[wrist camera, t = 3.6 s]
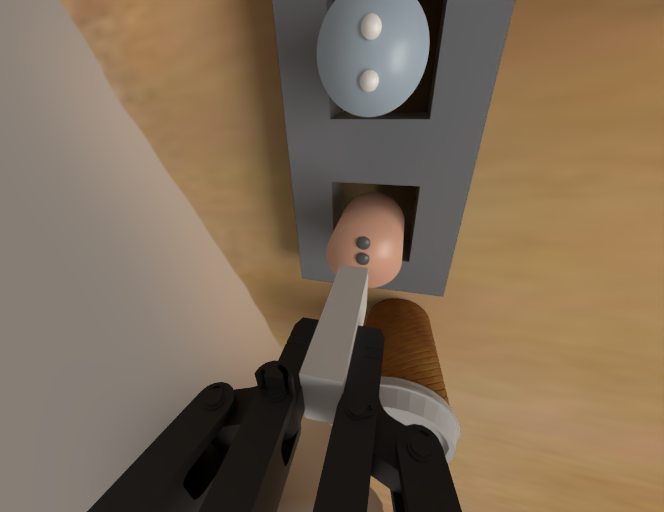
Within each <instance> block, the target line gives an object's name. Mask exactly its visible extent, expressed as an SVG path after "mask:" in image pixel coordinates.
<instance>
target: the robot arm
mask: <svg viewBox="0 0 664 512" xmlns="http://www.w3.org/2000/svg"><path fill="white" fill-rule="evenodd" d="M368 272H369V268H363V267H354V266H345V265H340V266H339V269H338V272H337V274H336V277H335V280H334V282H333V285H332V288H331V290H330V293H329V296H328V298H327V301H326V304H325V306H324V309H323V312H322V314H321V317H320V319H319V320H316V319H310V318H302V319H301V320H300V321H299V322H298V323H296V324H295V326H294V328H293V330H292V332H291V334H290V336H289V339H288V341H287V344H286V345H285V347H284V349H283V351H282V354H281V356H280V358H279V360H278V361H271V362H267V363H265V364H263V365H262V366H261V367H259V368H258V370H257V371H256V372H255V377H256V381H257V384H258V386H255V387H251V388H244V389H236V390H233V388H232V387H231V386H230V385H229V384H227V383H223V382H219V383H214V384H211V385H209V386H207V387H206V388H205V389H203V390H202V391H201V392H200V393H199V394H198V395H197V396H196V397H195V398H194V399H193V400H192V402H191V403H190V404H189V405H188V406H187V407H186V408H185V409H184V410H183V411H182V412H181V413H180V414H179V415H178V416H177V418H175V419H174V420H173V422H172V423H171V424H170V425H169V426H168V427H167V428H166V429H165V430H164V431H163V432H162V433H161V434H160V435H159V436H158V437H157V438H156V440H155V441H154V442H153V443H152V444H151V445H150V446H149V447H148V448H147V449H146V450H145V451H144V452H143V453H142V454H141V455H140V456H139V457H138V459H137V460H136V461H135V462H134V463H133V464H132V465H131V466H130V467H129V468H128V469H127V470H126V471H125V472H124V473H123V474H122V476H121V477H120V478H119V479H118V480H117V481H116V482H115V483H114V484H113V485H112V486H111V487H110V488H109V489H108V490H107V491H106V492H105V493H104V495H103V496H102V497H101V498H100V499H99V500H98V501H97V502H96V503H95V504H94V505H93V506H92V507H91V508H90V509H89V510H88V511H87V512H277V508H278V505H279V502H280V499H281V496H282V493H283V489H284V486H285V482H286V479H287V476H288V473H289V470H290V466H291V463H292V460H293V457H294V453H295V450H296V447H297V443H298V440H299V437H300V433H301V420H302V416H303V414H304V412H305V417H306V418H309V419H313V420H317V421H322V422H326V423H330V424H333V426H332V430H331V435H330V439H329V443H328V448H327V452H326V457H325V461H324V465H323V470H322V474H321V478H320V483H319V487H318V491H317V496H316V501H315V504H314V509H313V512H367V505H368V496H369V486H370V477H371V476H373V477H374V478H375V479H377V480H378V481H380V482H381V483H382V484H384V485H385V486H387V487H388V488H389V489H390V491H391V498H392V505H393V511H394V512H462V510H461V507H460V504H459V500H458V497H457V494H456V490H455V487H454V484H453V480H452V477H451V474H450V470H449V467H448V464H447V460H446V457H445V454H444V450H443V447H442V445H441V443H440V441H439V439H438V437H437V436H436V435H435V434H434V433H433V432H432V431H431V430H430V429H428V428H426V427H425V426H423V425H418V424H411V425H407V426H406V425H404V424H402V423H401V422H399V421H397V420H396V419H394V418H393V417H391V416H390V415H389V414H388V413H387V412H386V411H385V410H384V408H383V406H382V405H381V402H380V398H379V391H380V381H381V371H382V361H383V352H384V342H385V338H384V336H383V333H382V330H381V329H378V328H372V327H365V326H363V324H364V319H365V313H366V308H367V290H368Z"/></svg>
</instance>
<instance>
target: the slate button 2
mask: <svg viewBox="0 0 664 512" xmlns="http://www.w3.org/2000/svg"><path fill="white" fill-rule="evenodd" d="M429 45H430V40H429V29H428V23H427V20H426V16H425V14H424V11H423V9H422V7H421V5H420V3H419V2H418V0H335V2H334V3H333V4H332V5H331V7H330V9H329V10H328V12H327V14H326V16H325V18H324V20H323V22H322V25H321V29H320V32H319V36H318V42H317V66H318V71H319V75H320V78H321V81H322V84H323V86H324V88H325V90H326V92H327V93H328V95H329V96H330V97H331V99H332V100H333V101H334V102H335V103H336V104H337V105H338V106H339V107H340V108H342V109H343V110H345V111H347V112H348V113H351V114H353V115H356V116H361V117H376V116H380V115H383V114H386V113H389V112H391V111H392V110H394V109H396V108H397V107H399V106H400V105H401V104H403V103H404V102H405V101H406V100H407V99H408V98H409V97H410V95H411V94H412V93H413V92H414V90H415V89H416V87H417V86H418V84H419V82H420V80H421V78H422V76H423V73H424V71H425V68H426V64H427V60H428V55H429Z"/></svg>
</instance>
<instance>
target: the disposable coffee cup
mask: <svg viewBox="0 0 664 512" xmlns="http://www.w3.org/2000/svg"><path fill="white" fill-rule="evenodd" d="M365 327H372V328H378V329H381V330H382V333H383V336H384V338H385V342H384V352H383V361H382V371H381V381H380V391H379V398H380V402H381V405H382V406H383V408H384V410H385V411H386V412H387V413H388V414H389V415H390V416H391V417H393V418H394V419H396V420H397V421H399V422H401V423H402V424H404V425H406V426H407V425H411V424H418V425H423V426H425V427H426V428H428V429H430V430H431V431H432V432H433V433H434V434H435V435H436V436H437V437H438V439H439V441H440V443H441V445H442V447H443V450H444V454H445V457H446V460H447V463H448V462H450V461H451V459H452V458H453V456H454V454H455V447H456V443H457V441H458V439H459V437H460V425H459V422H458V420H457V417H456V416H455V415H454V413H453V411H452V408H451V407H450V405H449V403H448V402H449V401H448V397H447V392H446V389H445V384H444V381H443V376H442V371H441V368H440V364H439V362H438V361H439V359H438V356H437V351H436V347H435V342H434V340H433V339H434V338H433V335H432V330H431V326H430V321H429V317H428V315H427V314H426V312H425V311H424V310H423V309H422V308H421V307H420V306H418V305H417V304H415V303H413V302H410V301H407V300H402V299H390V300H385V301H383V302H380V303H378V304H377V305H375V306H374V307H373V308H372V310H371V311H370V314H369V316H368V319H367V322H366V325H365Z"/></svg>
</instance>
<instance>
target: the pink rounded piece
mask: <svg viewBox="0 0 664 512" xmlns="http://www.w3.org/2000/svg"><path fill="white" fill-rule="evenodd" d="M404 222H405V220H404V214H403V211H402V209H401V208H400V206H399V205H398V203H397V202H396V201H395V200H393V199H392V198H391V197H389V196H387V195H384V194H381V193H375V192H370V193H364V194H361V195H358V196H357V197H355V198H353V199H352V200H351V201H350V202H349V203H348V205H347V206H346V208H345V210H344V212H343V214H342V216H341V218H340V220H339V222H338V224H337V226H336V228H335V230H334V232H333V234H332V236H331V238H330V240H329V242H328V245H327V248H326V258H327V262H328V264H329V267H330V268H331V270H332V271H333V273H334V274H335V275H336V274H337V272H338V269H339V266H340V265H345V266H354V267H363V268H369V272H368V288H376V287H380V286H383V285H385V284H387V283H389V282H390V281H391V280H393V279H394V278H395V277H396V275H397V274H398V272H399V271H400V268H401V265H402V254H403V238H404Z"/></svg>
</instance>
